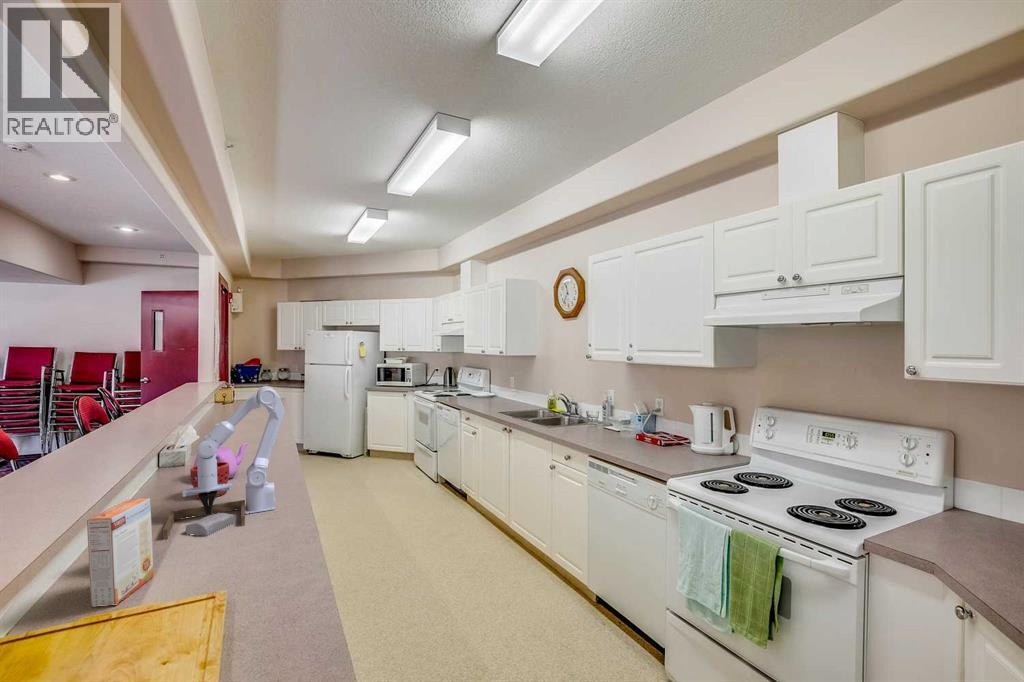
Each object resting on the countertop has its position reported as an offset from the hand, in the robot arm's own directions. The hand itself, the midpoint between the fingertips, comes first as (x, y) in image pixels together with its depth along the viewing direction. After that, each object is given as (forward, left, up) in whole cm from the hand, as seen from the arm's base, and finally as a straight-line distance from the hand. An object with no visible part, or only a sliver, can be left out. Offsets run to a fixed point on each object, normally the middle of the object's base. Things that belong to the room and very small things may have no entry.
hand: (208, 513), depth 169 cm
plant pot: (+1, -29, -2) cm, 29 cm away
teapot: (0, -55, -2) cm, 55 cm away
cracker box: (+15, +47, -2) cm, 50 cm away
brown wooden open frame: (0, +5, -1) cm, 6 cm away
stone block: (-1, +11, -2) cm, 11 cm away
